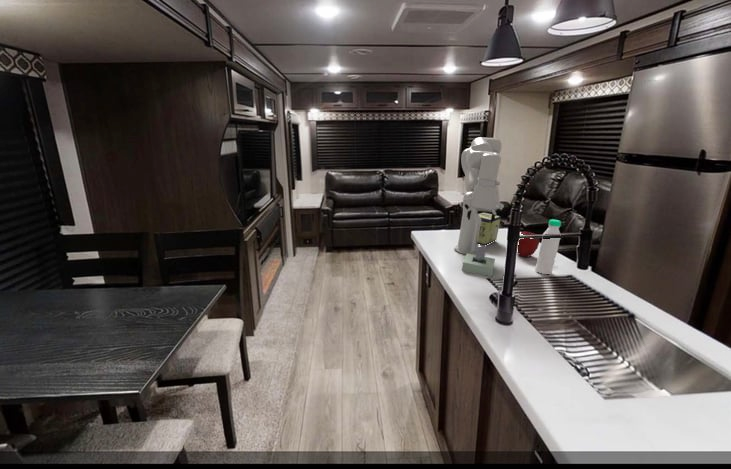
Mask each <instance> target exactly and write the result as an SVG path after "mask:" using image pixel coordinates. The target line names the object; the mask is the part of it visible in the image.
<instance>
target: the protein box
mask: <svg viewBox="0 0 731 469" xmlns="http://www.w3.org/2000/svg"><path fill="white" fill-rule="evenodd" d="M478 214H479V216H480V218H481V225H480V231H479V237H478V243H477V244H480V245H487V244H489V243H491V242H493V241H495V240H496V241H497V238H498V234H499V229H500V223H501V217H502V216H500V215H497V214H496V215H495V220H494V221H492V223H490V222H491V217H492V214H493V213H490V212H481V213H478ZM489 245H490V244H489ZM487 246H488V245H487Z"/></svg>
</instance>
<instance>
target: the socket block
mask: <svg viewBox="0 0 731 469" xmlns="http://www.w3.org/2000/svg"><path fill="white" fill-rule="evenodd" d="M475 256H476V255H473V254H465V256H464V259H463V261H462V267H461V271H463V272H468V273H473V274H478V275H483V276H486V275H489V276H488V277H491V276H492V277H493V272H494V267H495V262H496V261H495V260H496V258H493V257H488V256H485V258H484V263H478V262H475Z"/></svg>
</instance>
